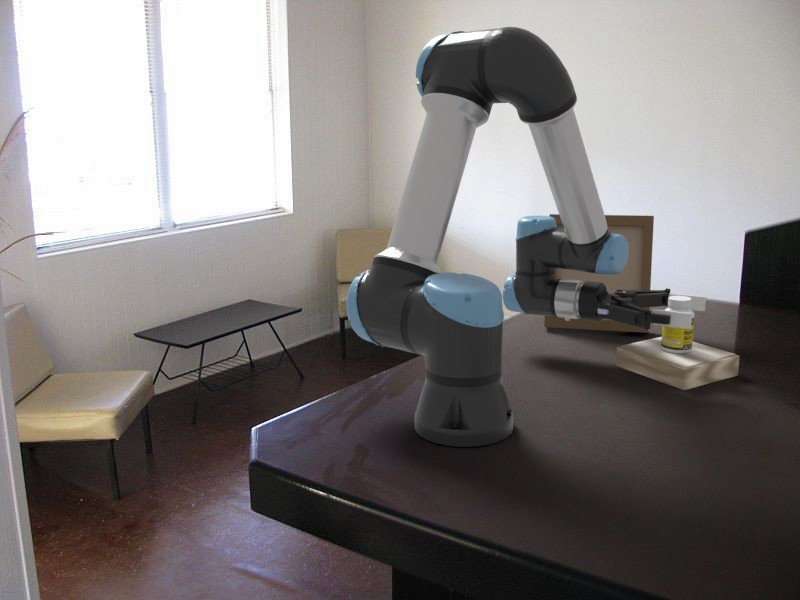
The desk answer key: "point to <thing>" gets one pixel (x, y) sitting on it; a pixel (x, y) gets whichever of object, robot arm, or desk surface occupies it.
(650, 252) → the photo frame
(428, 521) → the desk surface
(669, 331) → the supplement bottle
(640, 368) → the pedestal
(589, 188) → the robot arm
